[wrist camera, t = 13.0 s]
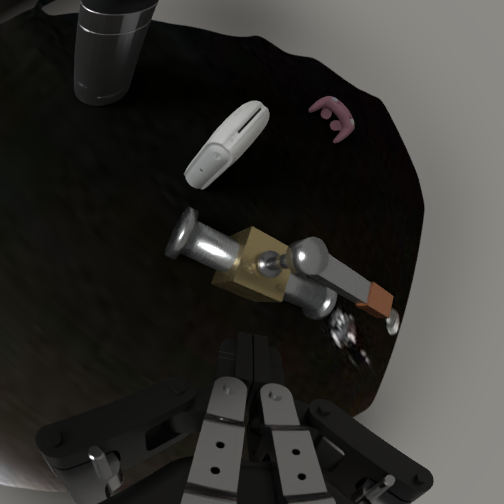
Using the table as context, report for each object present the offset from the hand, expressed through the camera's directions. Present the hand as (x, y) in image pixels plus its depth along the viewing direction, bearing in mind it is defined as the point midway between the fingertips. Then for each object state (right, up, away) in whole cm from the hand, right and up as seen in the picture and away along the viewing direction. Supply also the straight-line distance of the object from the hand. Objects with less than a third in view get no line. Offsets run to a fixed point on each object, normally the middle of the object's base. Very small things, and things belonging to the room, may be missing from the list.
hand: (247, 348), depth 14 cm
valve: (-1, +2, +26) cm, 26 cm away
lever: (+10, +1, +17) cm, 20 cm away
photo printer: (-6, +18, +26) cm, 32 cm away
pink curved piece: (+16, +33, +41) cm, 55 cm away
